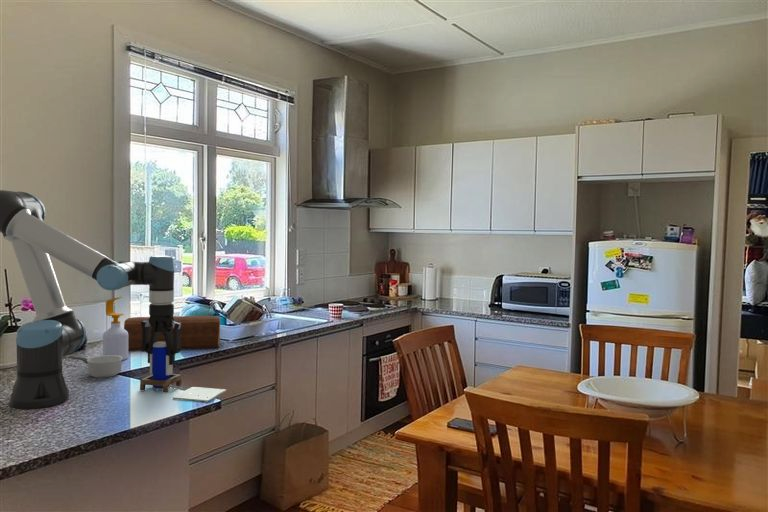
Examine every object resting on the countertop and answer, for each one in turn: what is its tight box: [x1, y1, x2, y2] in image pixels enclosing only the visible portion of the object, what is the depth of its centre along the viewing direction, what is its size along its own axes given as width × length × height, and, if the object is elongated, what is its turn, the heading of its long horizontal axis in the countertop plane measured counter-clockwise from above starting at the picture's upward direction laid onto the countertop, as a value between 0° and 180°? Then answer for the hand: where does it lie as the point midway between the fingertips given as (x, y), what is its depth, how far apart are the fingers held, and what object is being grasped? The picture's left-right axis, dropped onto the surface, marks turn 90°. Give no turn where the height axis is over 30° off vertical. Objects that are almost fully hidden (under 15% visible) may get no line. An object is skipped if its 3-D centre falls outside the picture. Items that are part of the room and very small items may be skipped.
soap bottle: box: [102, 296, 129, 362], centre depth 224 cm, size 9×9×25 cm
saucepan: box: [68, 355, 122, 378], centre depth 203 cm, size 12×20×6 cm, turn 78°
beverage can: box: [152, 341, 170, 390], centre depth 187 cm, size 5×5×15 cm
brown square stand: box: [139, 373, 182, 393], centre depth 187 cm, size 9×9×4 cm
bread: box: [123, 315, 221, 351], centre depth 251 cm, size 16×39×13 cm, turn 105°
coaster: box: [171, 386, 227, 403], centre depth 180 cm, size 12×12×1 cm
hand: (161, 373), depth 187 cm, fingers closed on beverage can, 5 cm apart
